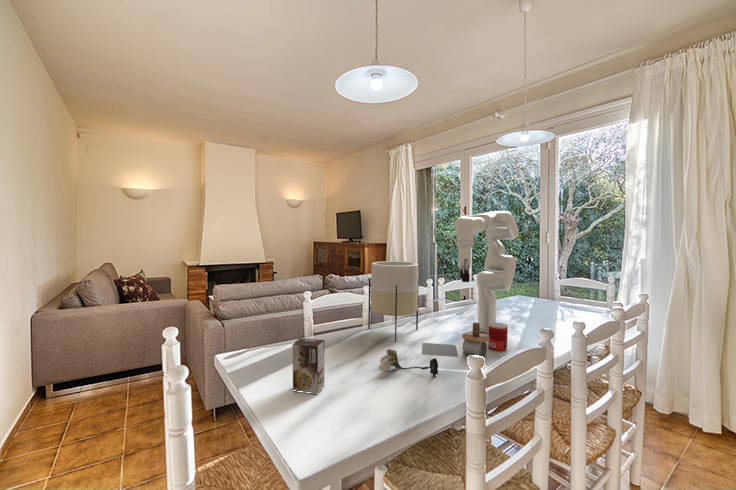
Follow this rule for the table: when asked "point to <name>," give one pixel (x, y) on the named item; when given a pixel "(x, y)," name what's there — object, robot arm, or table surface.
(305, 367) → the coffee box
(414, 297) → the planter
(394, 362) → the artificial flower
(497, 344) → the canned food
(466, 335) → the lid
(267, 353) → the table surface
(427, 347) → the mat
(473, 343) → the ceramic mug
